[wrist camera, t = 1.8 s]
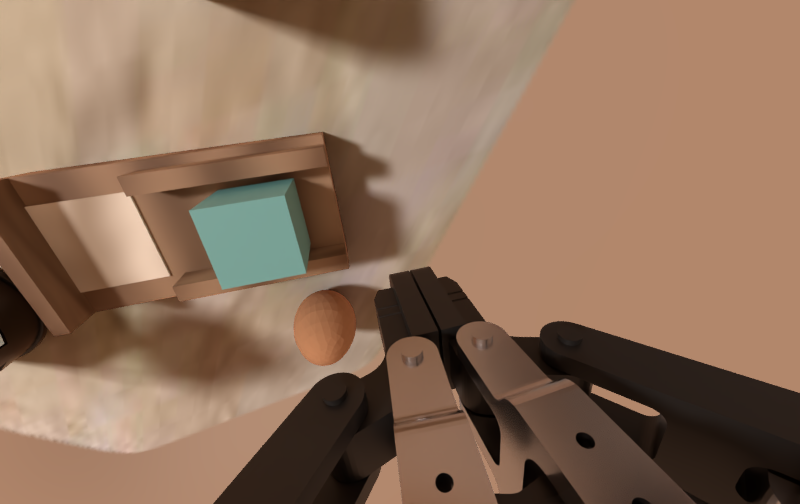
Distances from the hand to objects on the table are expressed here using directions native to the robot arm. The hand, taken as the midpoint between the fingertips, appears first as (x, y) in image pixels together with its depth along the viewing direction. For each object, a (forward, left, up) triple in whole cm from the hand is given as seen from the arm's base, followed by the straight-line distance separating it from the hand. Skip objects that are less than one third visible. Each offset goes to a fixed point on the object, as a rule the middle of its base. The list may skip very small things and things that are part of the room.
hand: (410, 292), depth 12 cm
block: (+7, 0, -13) cm, 15 cm away
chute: (+12, 0, -17) cm, 21 cm away
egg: (+5, +10, -17) cm, 21 cm away
